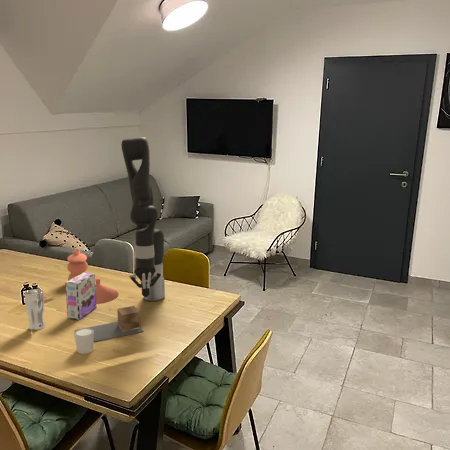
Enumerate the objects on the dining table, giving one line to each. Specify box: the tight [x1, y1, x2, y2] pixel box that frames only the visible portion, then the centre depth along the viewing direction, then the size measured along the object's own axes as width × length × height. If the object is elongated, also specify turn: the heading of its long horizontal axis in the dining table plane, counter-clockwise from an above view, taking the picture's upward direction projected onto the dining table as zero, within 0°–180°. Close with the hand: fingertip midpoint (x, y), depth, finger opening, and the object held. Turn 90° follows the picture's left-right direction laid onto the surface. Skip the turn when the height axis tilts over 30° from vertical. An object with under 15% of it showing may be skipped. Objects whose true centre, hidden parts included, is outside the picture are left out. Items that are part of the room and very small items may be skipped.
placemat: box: [74, 321, 144, 343], centre depth 177 cm, size 24×13×1 cm, turn 118°
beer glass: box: [24, 288, 46, 331], centre depth 179 cm, size 7×7×15 cm
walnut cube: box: [116, 305, 141, 332], centre depth 180 cm, size 7×7×7 cm
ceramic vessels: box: [66, 249, 120, 305], centre depth 216 cm, size 35×21×19 cm, turn 45°
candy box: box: [65, 272, 98, 321], centre depth 192 cm, size 14×6×16 cm, turn 164°
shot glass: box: [73, 327, 95, 355], centre depth 162 cm, size 7×7×7 cm
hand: (145, 296), depth 182 cm, fingers closed
